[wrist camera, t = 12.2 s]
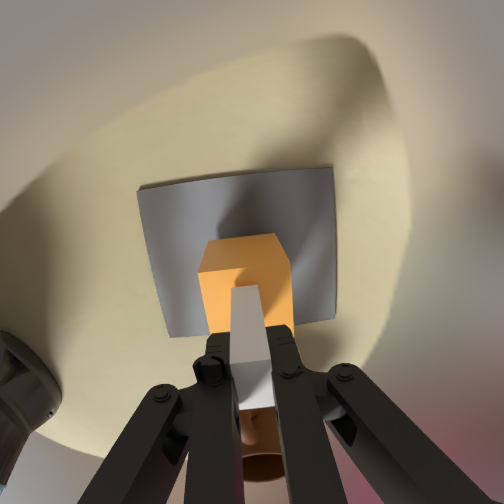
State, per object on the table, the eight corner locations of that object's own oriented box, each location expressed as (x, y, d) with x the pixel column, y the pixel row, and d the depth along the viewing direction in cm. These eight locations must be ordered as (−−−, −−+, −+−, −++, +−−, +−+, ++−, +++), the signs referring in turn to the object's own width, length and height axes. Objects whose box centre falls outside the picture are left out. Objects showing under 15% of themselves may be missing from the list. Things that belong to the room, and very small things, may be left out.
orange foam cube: (208, 240, 22) (197, 272, 16) (274, 232, 22) (290, 261, 16) (218, 300, 24) (213, 347, 17) (279, 292, 24) (294, 337, 17)
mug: (201, 361, 27) (191, 433, 18) (273, 345, 27) (287, 417, 18) (234, 426, 31) (236, 487, 22) (293, 414, 31) (306, 475, 22)
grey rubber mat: (170, 335, 26) (154, 387, 19) (138, 190, 22) (98, 204, 15) (333, 316, 26) (360, 363, 19) (330, 167, 22) (370, 171, 15)
